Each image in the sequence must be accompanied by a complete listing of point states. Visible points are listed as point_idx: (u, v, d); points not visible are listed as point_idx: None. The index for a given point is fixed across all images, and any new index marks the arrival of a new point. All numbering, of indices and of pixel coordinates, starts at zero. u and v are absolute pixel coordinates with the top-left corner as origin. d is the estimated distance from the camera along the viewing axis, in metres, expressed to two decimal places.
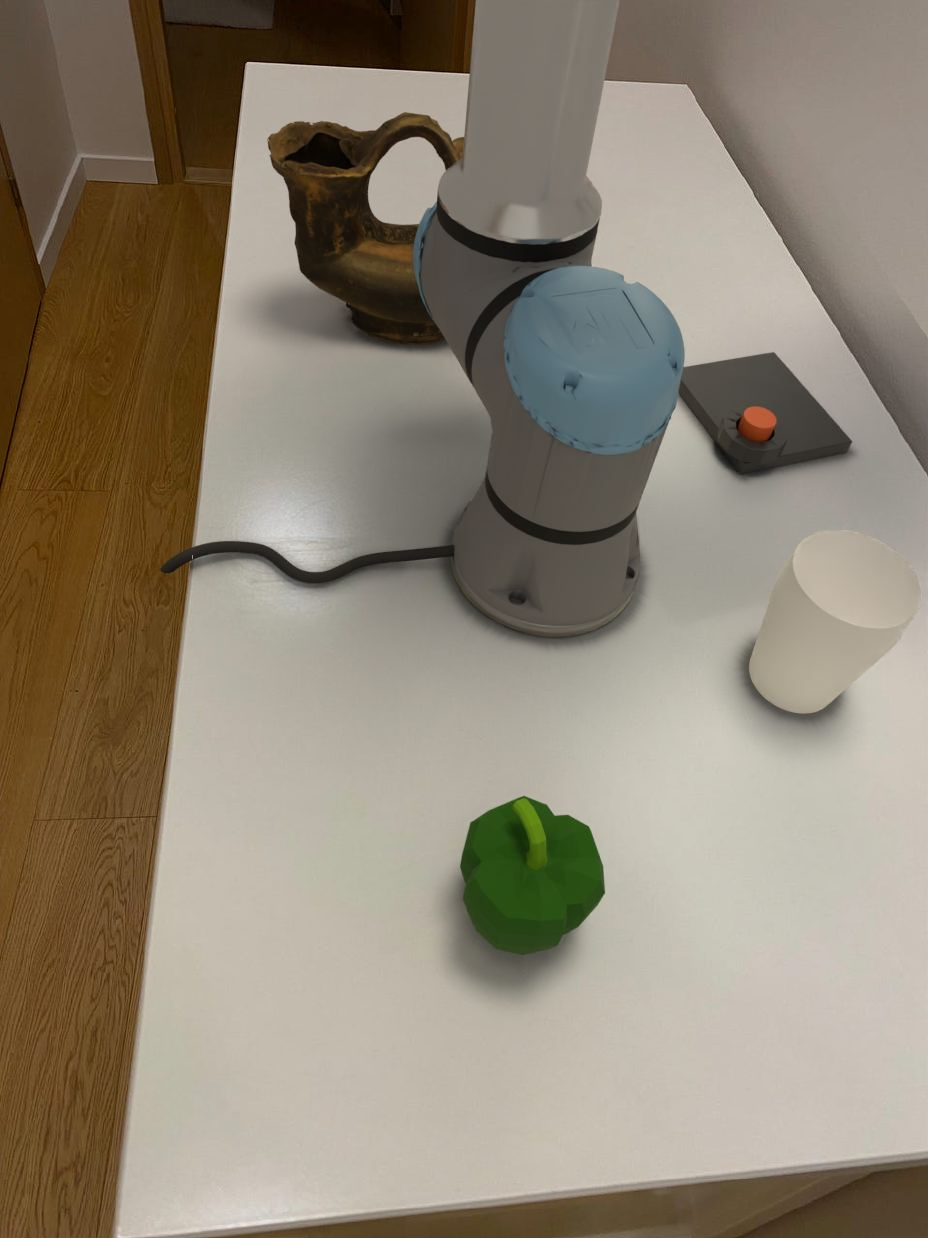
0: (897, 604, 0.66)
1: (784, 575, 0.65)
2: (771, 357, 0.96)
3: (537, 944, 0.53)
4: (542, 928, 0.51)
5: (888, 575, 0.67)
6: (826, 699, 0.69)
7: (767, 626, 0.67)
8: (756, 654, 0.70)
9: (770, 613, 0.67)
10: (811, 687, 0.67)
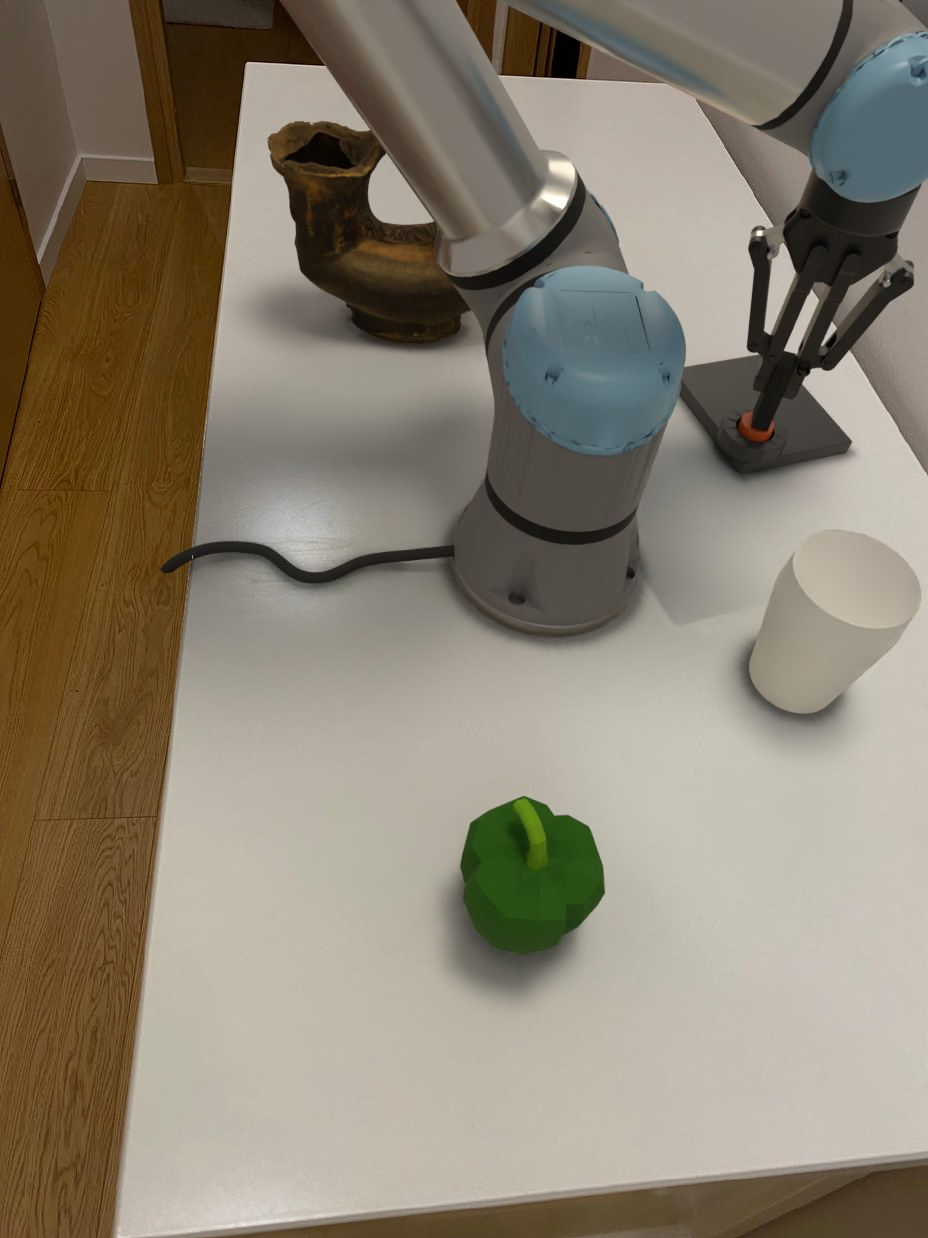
0: (897, 604, 0.66)
1: (784, 575, 0.65)
2: None
3: (537, 944, 0.53)
4: (542, 928, 0.51)
5: (888, 575, 0.67)
6: (826, 699, 0.69)
7: (767, 626, 0.67)
8: (756, 654, 0.70)
9: (770, 613, 0.67)
10: (811, 687, 0.67)
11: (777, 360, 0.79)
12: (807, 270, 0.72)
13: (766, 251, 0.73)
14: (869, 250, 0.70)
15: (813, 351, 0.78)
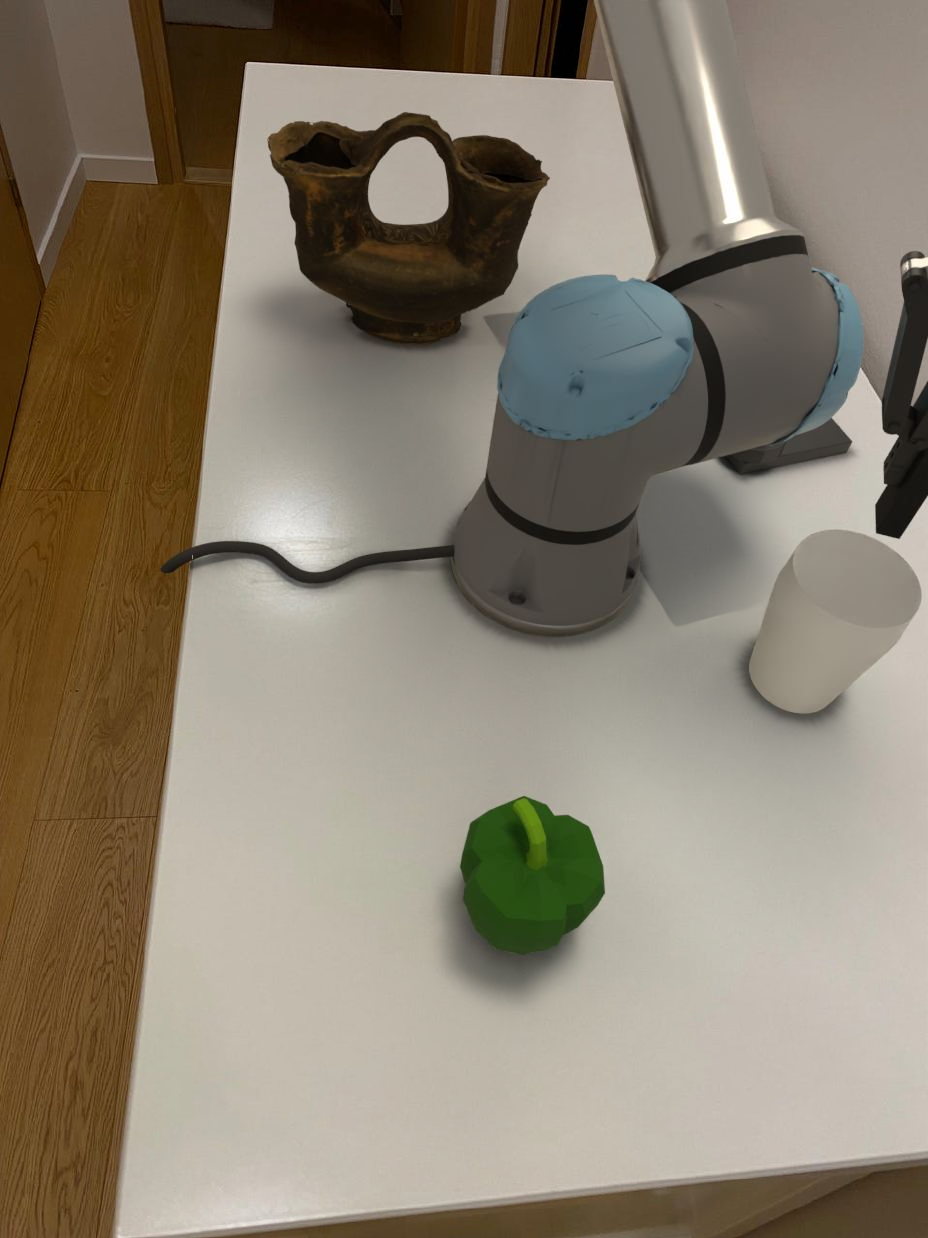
0: (897, 604, 0.66)
1: (784, 575, 0.65)
2: None
3: (537, 944, 0.53)
4: (542, 928, 0.51)
5: (888, 575, 0.67)
6: (826, 699, 0.69)
7: (767, 626, 0.67)
8: (756, 654, 0.70)
9: (770, 613, 0.67)
10: (811, 687, 0.67)
11: (927, 445, 0.54)
12: None
13: None
14: None
15: None
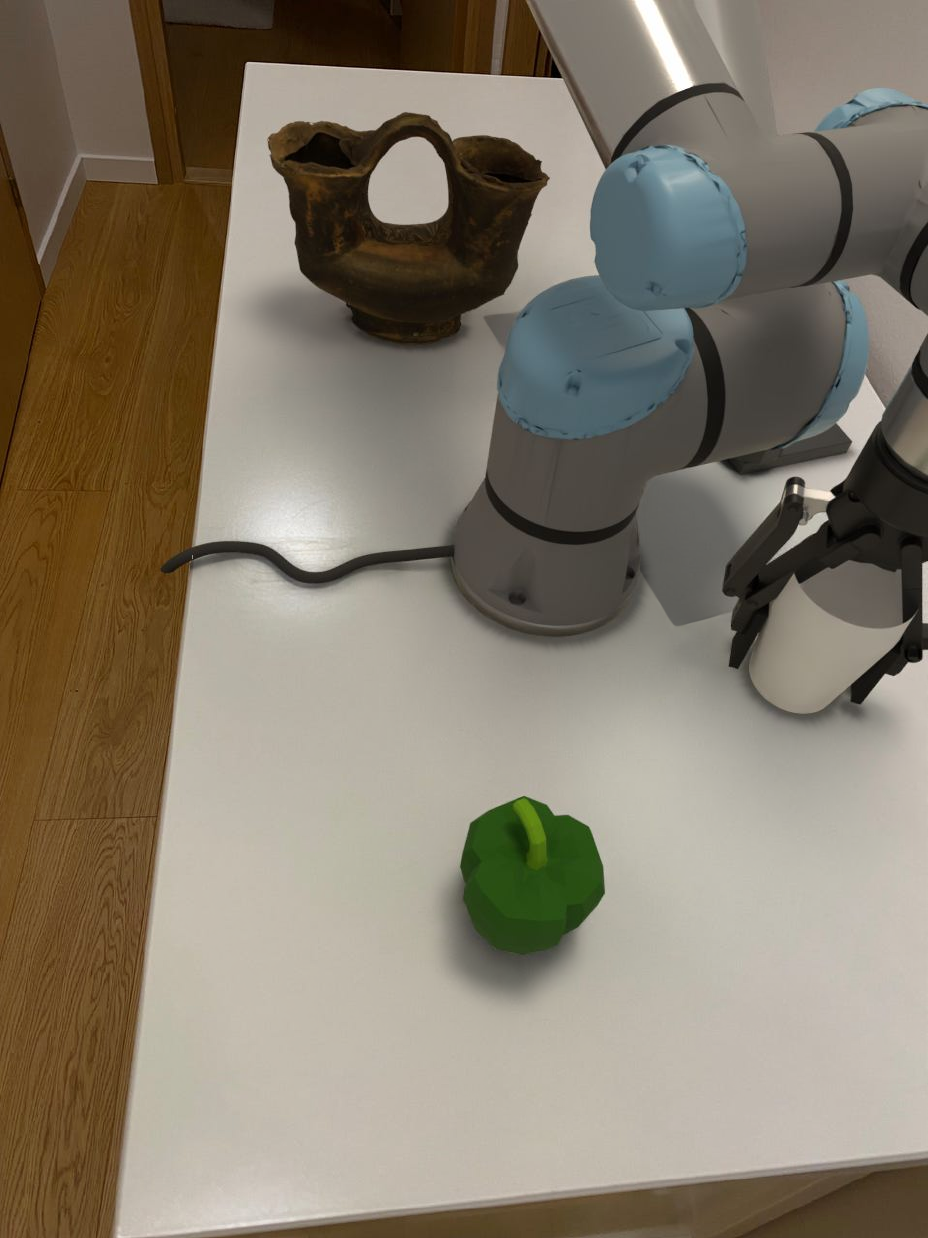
0: (897, 604, 0.66)
1: None
2: None
3: (537, 944, 0.53)
4: (542, 928, 0.51)
5: (888, 575, 0.67)
6: (826, 699, 0.69)
7: (767, 626, 0.67)
8: (756, 654, 0.70)
9: (770, 613, 0.67)
10: (811, 687, 0.67)
11: (756, 607, 0.66)
12: (846, 548, 0.60)
13: (800, 515, 0.60)
14: None
15: (916, 634, 0.64)
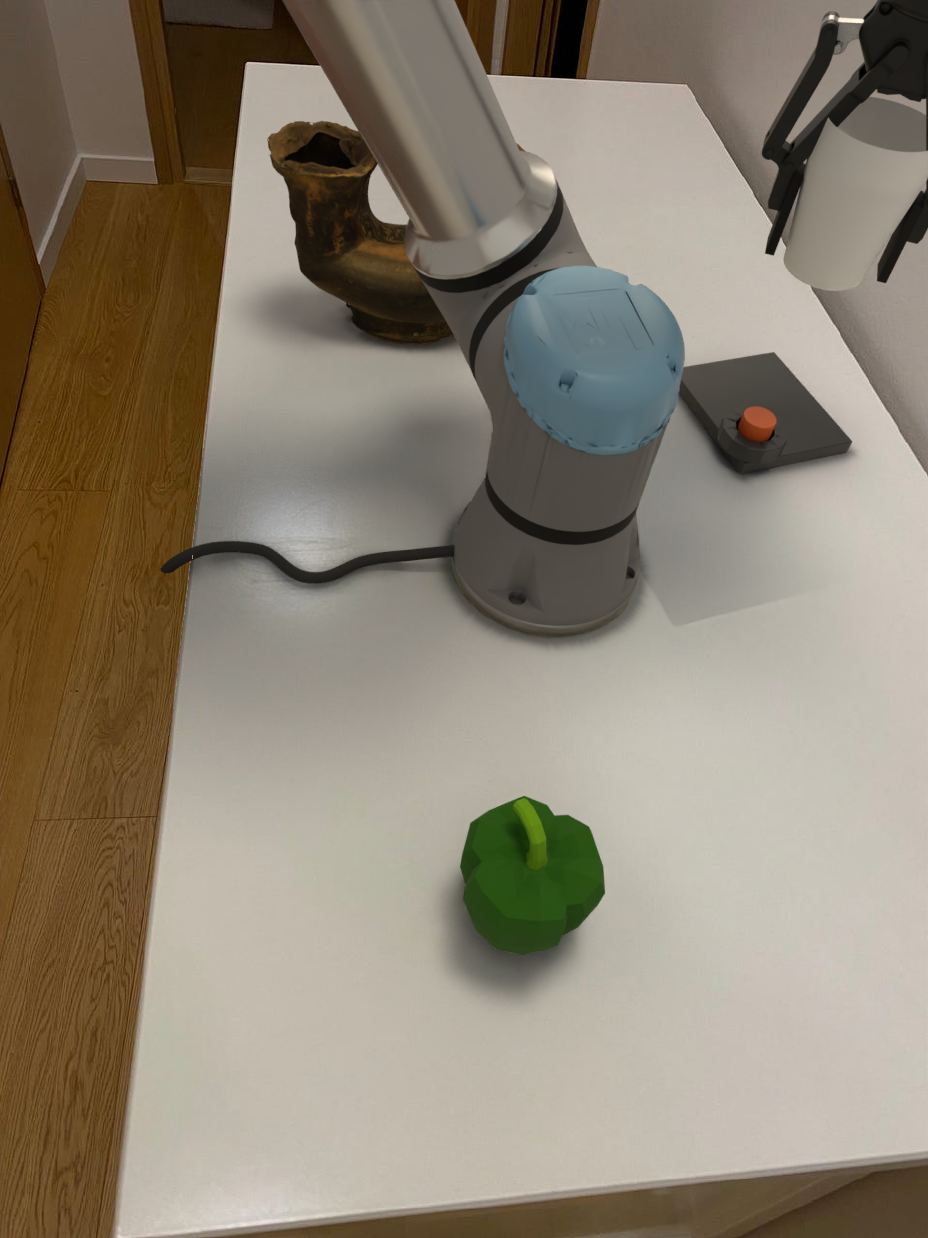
0: None
1: None
2: (771, 357, 0.96)
3: (537, 944, 0.53)
4: (542, 928, 0.51)
5: (913, 141, 0.73)
6: (855, 267, 0.75)
7: (802, 192, 0.74)
8: (791, 235, 0.77)
9: (805, 176, 0.73)
10: (842, 245, 0.74)
11: (793, 170, 0.73)
12: (876, 72, 0.66)
13: (835, 41, 0.66)
14: None
15: None
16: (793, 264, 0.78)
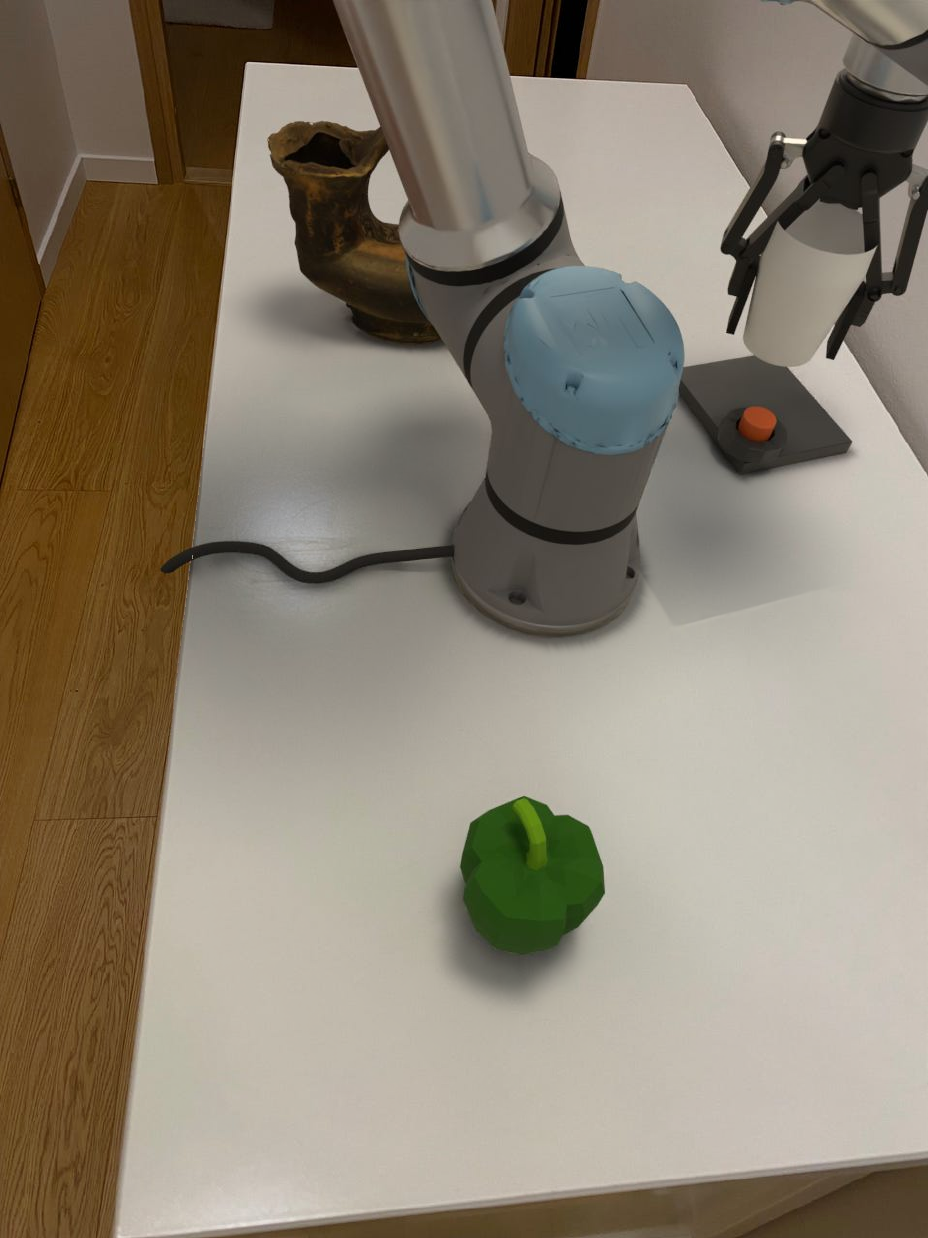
0: None
1: None
2: None
3: (537, 944, 0.53)
4: (542, 928, 0.51)
5: (855, 237, 0.82)
6: (805, 347, 0.84)
7: (757, 282, 0.83)
8: (748, 317, 0.86)
9: (759, 268, 0.82)
10: (792, 330, 0.83)
11: (748, 263, 0.82)
12: (818, 185, 0.75)
13: (782, 159, 0.75)
14: (885, 169, 0.74)
15: (876, 274, 0.80)
16: (751, 343, 0.87)
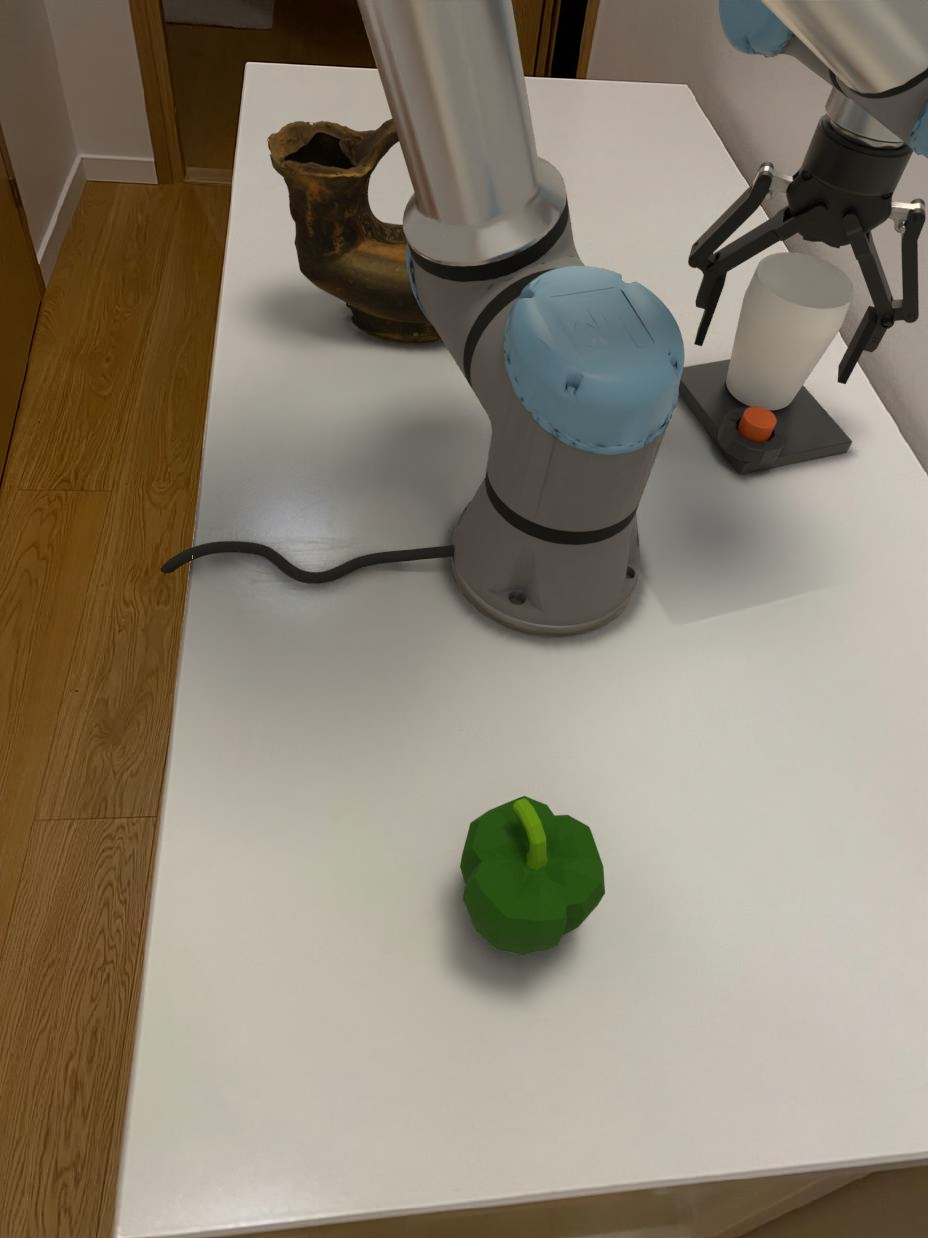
0: None
1: (750, 282, 0.84)
2: None
3: (537, 944, 0.53)
4: (542, 928, 0.51)
5: (832, 289, 0.86)
6: (785, 392, 0.88)
7: (738, 331, 0.87)
8: (731, 363, 0.90)
9: (740, 318, 0.86)
10: (772, 377, 0.87)
11: (714, 277, 0.84)
12: (799, 220, 0.78)
13: (767, 190, 0.77)
14: (865, 210, 0.76)
15: (884, 302, 0.81)
16: (733, 387, 0.91)
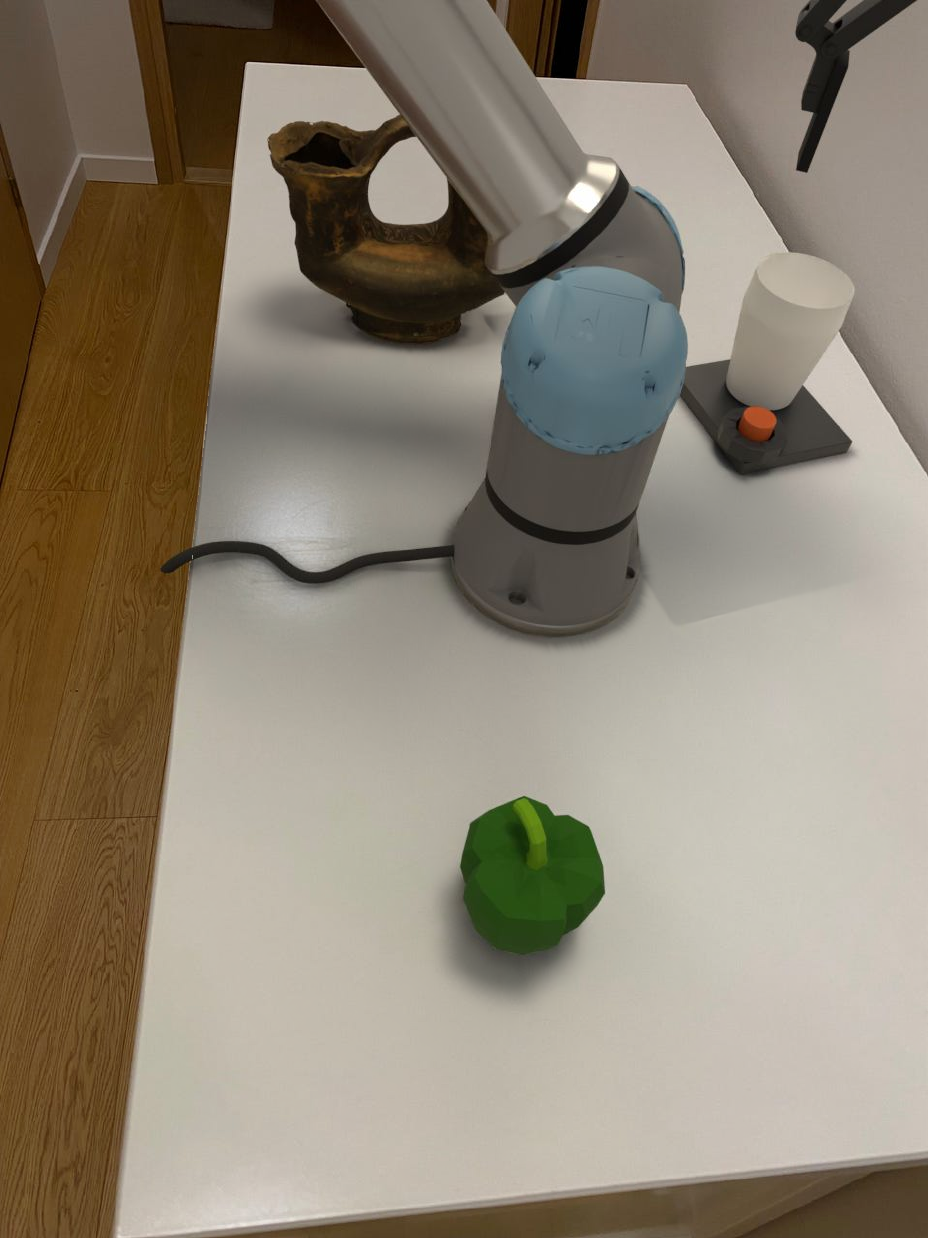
0: None
1: (750, 282, 0.84)
2: None
3: (537, 944, 0.53)
4: (542, 928, 0.51)
5: (832, 289, 0.86)
6: (785, 392, 0.88)
7: (738, 331, 0.87)
8: (731, 363, 0.90)
9: (740, 318, 0.86)
10: (772, 377, 0.87)
11: (833, 56, 0.57)
12: None
13: None
14: None
15: None
16: (733, 387, 0.91)
